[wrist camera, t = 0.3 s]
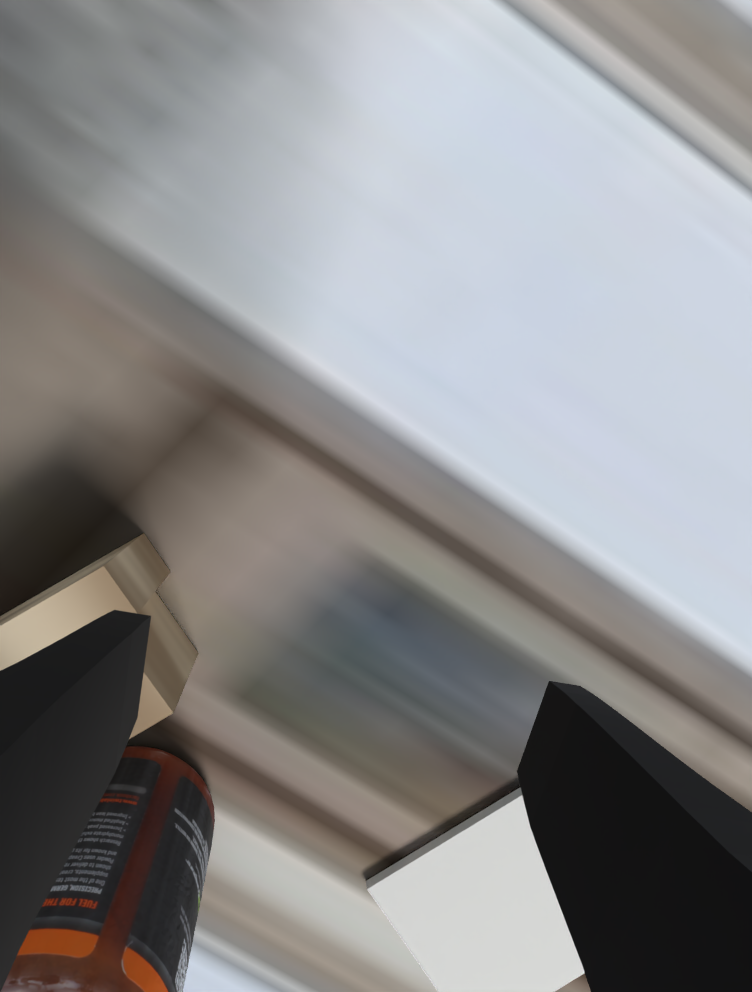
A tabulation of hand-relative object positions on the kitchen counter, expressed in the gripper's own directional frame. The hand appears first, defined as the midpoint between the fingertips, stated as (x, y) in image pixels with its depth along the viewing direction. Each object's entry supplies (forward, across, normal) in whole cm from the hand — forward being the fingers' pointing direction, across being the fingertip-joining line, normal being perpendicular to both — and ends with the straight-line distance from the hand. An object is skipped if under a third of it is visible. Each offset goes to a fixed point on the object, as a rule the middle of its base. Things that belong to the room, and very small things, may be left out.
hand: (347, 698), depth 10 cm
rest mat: (+9, -10, +14) cm, 20 cm away
